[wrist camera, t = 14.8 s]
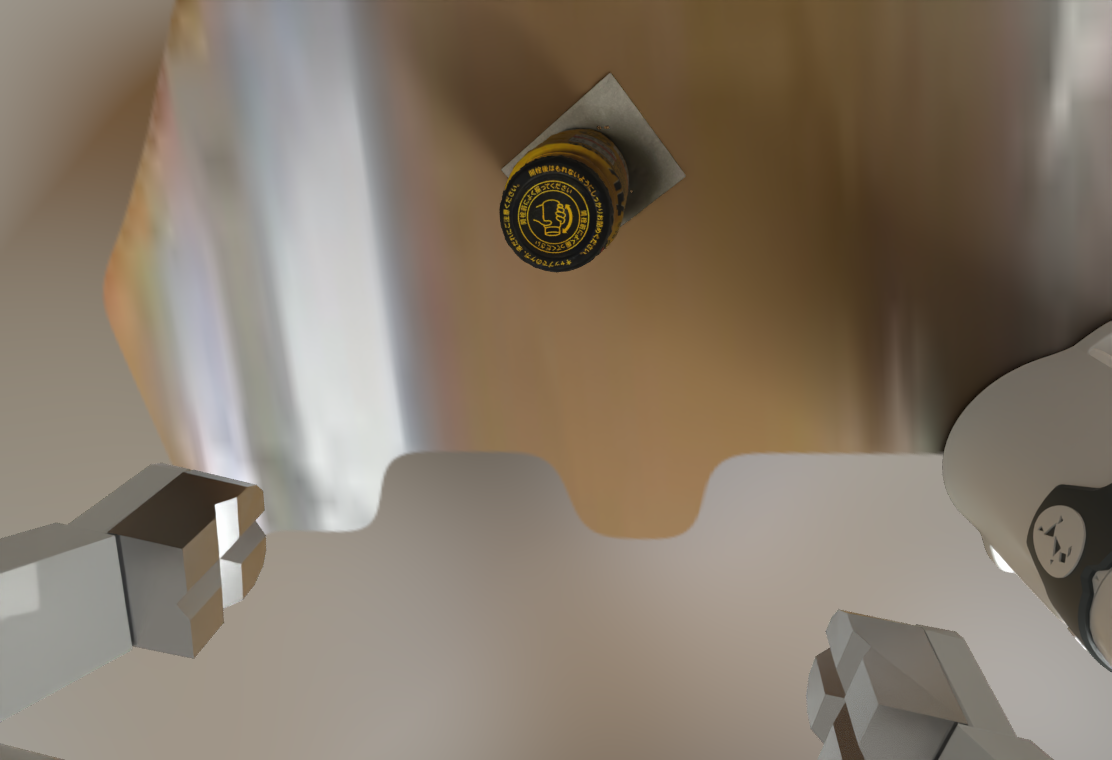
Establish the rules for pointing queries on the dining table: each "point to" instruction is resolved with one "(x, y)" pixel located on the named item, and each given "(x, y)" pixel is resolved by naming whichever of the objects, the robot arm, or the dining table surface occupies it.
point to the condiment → (583, 181)
